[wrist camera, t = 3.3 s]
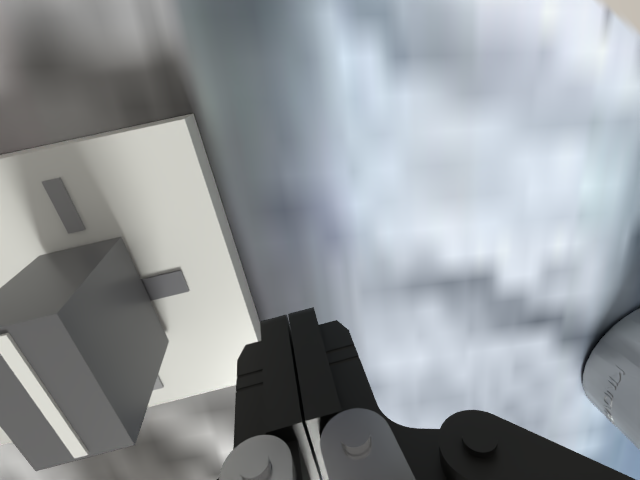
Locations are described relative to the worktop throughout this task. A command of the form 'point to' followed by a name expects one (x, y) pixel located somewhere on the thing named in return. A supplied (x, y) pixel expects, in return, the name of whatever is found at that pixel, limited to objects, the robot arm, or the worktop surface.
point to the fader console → (141, 237)
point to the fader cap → (77, 354)
